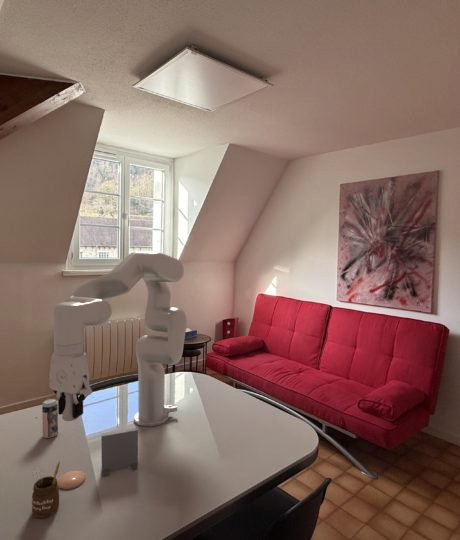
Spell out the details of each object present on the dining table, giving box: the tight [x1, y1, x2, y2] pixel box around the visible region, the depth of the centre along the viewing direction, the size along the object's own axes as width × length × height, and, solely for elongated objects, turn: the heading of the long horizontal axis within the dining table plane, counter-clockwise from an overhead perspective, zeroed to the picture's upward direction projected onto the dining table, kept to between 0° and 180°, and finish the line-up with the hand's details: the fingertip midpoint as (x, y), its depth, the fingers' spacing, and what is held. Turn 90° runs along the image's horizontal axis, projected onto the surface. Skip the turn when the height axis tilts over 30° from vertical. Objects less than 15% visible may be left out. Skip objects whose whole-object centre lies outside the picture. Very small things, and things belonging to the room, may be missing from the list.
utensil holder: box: [31, 461, 61, 519], centre depth 89 cm, size 6×6×12 cm
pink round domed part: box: [57, 470, 86, 490], centre depth 100 cm, size 7×7×1 cm
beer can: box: [41, 398, 59, 439], centre depth 123 cm, size 5×5×12 cm
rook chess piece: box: [61, 393, 79, 422], centre depth 99 cm, size 4×4×8 cm
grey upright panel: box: [100, 427, 139, 478], centre depth 106 cm, size 10×5×11 cm, turn 112°
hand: (70, 413), depth 99 cm, fingers closed on rook chess piece, 4 cm apart
